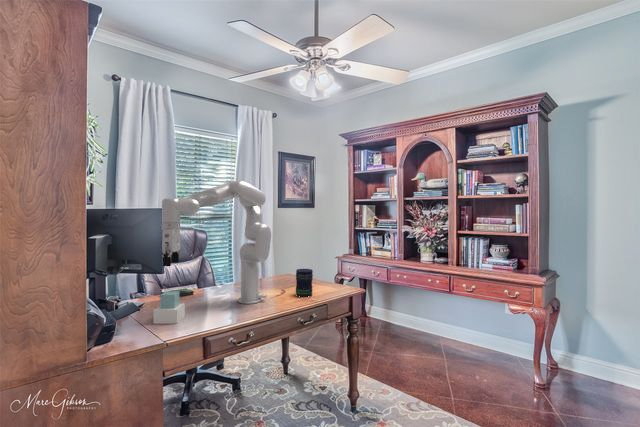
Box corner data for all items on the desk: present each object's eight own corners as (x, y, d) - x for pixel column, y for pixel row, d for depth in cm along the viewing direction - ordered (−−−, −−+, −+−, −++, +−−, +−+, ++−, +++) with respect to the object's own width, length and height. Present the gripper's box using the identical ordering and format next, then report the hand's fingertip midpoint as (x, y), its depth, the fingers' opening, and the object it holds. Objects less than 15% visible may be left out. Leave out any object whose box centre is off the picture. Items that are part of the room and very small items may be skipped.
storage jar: (308, 298, 191) (309, 272, 191) (292, 296, 194) (293, 270, 194) (314, 294, 200) (315, 269, 200) (299, 292, 204) (300, 268, 204)
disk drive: (168, 300, 183) (193, 295, 194) (168, 295, 183) (193, 290, 194) (160, 297, 190) (185, 292, 201) (160, 292, 190) (185, 287, 201)
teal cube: (179, 304, 153) (179, 291, 153) (174, 308, 147) (174, 294, 147) (165, 304, 153) (165, 291, 153) (160, 308, 147) (160, 294, 147)
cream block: (184, 316, 156) (185, 303, 155) (177, 323, 146) (177, 309, 146) (162, 316, 155) (162, 303, 155) (153, 323, 145) (153, 309, 145)
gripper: (172, 227, 141) (172, 267, 142) (186, 225, 159) (186, 261, 159) (154, 227, 141) (154, 267, 141) (169, 224, 158) (169, 261, 159)
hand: (171, 264), depth 150 cm, fingers open, 9 cm apart
